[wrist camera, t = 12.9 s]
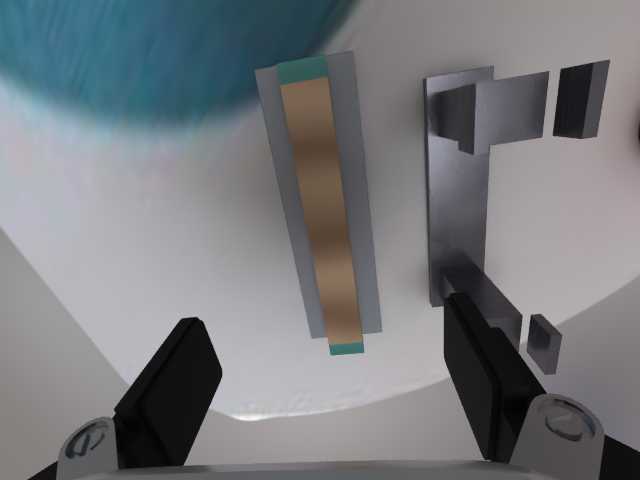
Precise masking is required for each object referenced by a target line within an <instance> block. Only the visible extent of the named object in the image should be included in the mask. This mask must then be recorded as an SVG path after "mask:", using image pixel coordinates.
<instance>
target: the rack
mask: <svg viewBox="0 0 640 480" xmlns="http://www.w3.org/2000/svg"><path fill="white" fill-rule="evenodd" d="M609 63H610V60H605V61H600V62H594V63H589V64H584V65H579V66H574V67H568V68H563V69H561V72H560V80H559V88H558V96H557V104H556V113H555V121H554V129H553V136H559V137H568V138H578V139H585V138H592V137H597V132H598V126H599V121H600V115H601V109H602V103H603V98H604V92H605V86H606V80H607V75H608V69H609ZM493 72H494V66H491V67H485V68H480V69H474V70H469V71H463V72H458V73H452V74H447V75H441V76H436V77H430V78H426V79H424V104H425V139H426V174H427V209H428V244H429V279H430V303H431V305H432V307H439V306H444V298H446V297H449V294H450V293H456V292H467V293H468V294H469V295H470V297H471V298H472V300H473V301H474V303H475V305H476V306H477V308H478V309H479V311H480V312H481V314H482V315H483V317H484V318H485V320H486V321H487V323H488V324H489V326H490V327H499V328H501V329H502V331H503V332H504V333H505V334H506V336H507V337H508V339H509V340H510V342H511V343H512V344H513V346H514V347H515V349H516V350H517V352H519V344H520V335H521V326H522V317H523V316H522V314H521V313H520V312H519V311H518V310H517V309H516V308H515V307H514V306H513V305H512V303H511V302H510V301H509V300H508V299H507V298H506V297H505V296H504V295H503V294H502V292H501V291H500V290H499V289H498V288H497V287H496V286H495V285H494V284H493V283H492V281H491V280H490V279H489V278H488V277H487V276H486V275H485V274H484V259H485V238H486V217H487V196H488V176H489V155H490V145H496V144H503V143H509V142H516V141H522V140H529V139H535V138H542V134H543V125H544V116H545V106H546V97H547V88H548V79H549V71H547V72H541V73H535V74H530V75H524V76H518V77H513V78H507V79H501V80H496V81H493ZM561 339H562V334H561V333H560V332H558V331H557V330H556V328H555V327H554V326H553V325H552V324H551V323H550V322H549V321H548V320H546V319H545V318H544V317H543V316H542V315H541V314H535V315H531V318H530V326H529V335H528V343H527V353H528V354H529V355H530V356H531V358H532V359H533V360H534V361H535V363H536V364H537V365H538V366H539V368H540V369H541V370H542V372H543V373H544V374H545V375H548V374H556V368H557V362H558V356H559V351H560V345H561Z"/></svg>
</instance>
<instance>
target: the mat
mask: <svg viewBox="0 0 640 480" xmlns="http://www.w3.org/2000/svg"><path fill="white" fill-rule="evenodd" d="M325 59H326V64H327V71H328V79H329V86H330V94H331V101H332V109H333V116H334V124H335V132H336V139H337V147H338V154H339V162H340V169H341V177H342V184H343V192H344V199H345V207H346V214H347V222H348V230H349V237H350V245H351V252H352V260H353V267H354V275H355V282H356V290H357V297H358V305H359V312H360V320H361V328H362V334H368V333H379V332H382V326H381V317H380V307H379V297H378V288H377V278H376V268H375V259H374V249H373V240H372V230H371V220H370V211H369V201H368V191H367V182H366V172H365V163H364V153H363V143H362V134H361V124H360V114H359V105H358V95H357V86H356V76H355V66H354V57H353V51H349V52H344V53H339V54H334V55H329V56H325ZM254 71H255V76H256V81H257V85H258V90H259V95H260V99H261V104H262V109H263V113H264V118H265V123H266V127H267V132H268V137H269V141H270V146H271V151H272V155H273V160H274V165H275V169H276V174H277V179H278V183H279V188H280V193H281V197H282V202H283V207H284V211H285V216H286V221H287V225H288V230H289V235H290V239H291V244H292V249H293V253H294V258H295V263H296V267H297V272H298V277H299V281H300V286H301V291H302V295H303V300H304V305H305V309H306V314H307V319H308V323H309V328H310V333H311V337H312V339H313V338H324V337H327V332H326V327H325V321H324V316H323V311H322V305H321V300H320V295H319V289H318V284H317V279H316V273H315V268H314V263H313V257H312V252H311V247H310V241H309V236H308V231H307V225H306V220H305V215H304V209H303V204H302V199H301V193H300V188H299V183H298V177H297V172H296V167H295V161H294V156H293V151H292V145H291V140H290V135H289V129H288V124H287V119H286V113H285V108H284V103H283V97H282V92H281V87H280V81H279V76H278V71H277V66H273V67H268V68H262V69H257V70H254Z"/></svg>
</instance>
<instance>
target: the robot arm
mask: <svg viewBox="0 0 640 480" xmlns="http://www.w3.org/2000/svg"><path fill="white" fill-rule="evenodd" d="M444 358H445V362H446V365H447V368H448V370H449V373H450V375H451V378H452V380H453V383H454V385H455V388H456V391H457V393H458V396H459V398H460V400H461V403H462V406H463V408H464V411H465V413H466V416H467V418H468V421H469V423H470V426H471V428H472V431H473V433H474V436H475V438H476V441H477V443H478V446H479V448H480V451H481V453H482V455H483V458H484V459H485V460H491V461H478V460H371V461H327V462H292V463H291V462H290V463H257V464H256V463H255V464H224V465H195V466H183V465H184V463H185V461H186V459H187V457H188V454H189V452H190V449H191V447H192V445H193V443H194V440H195V438H196V436H197V434H198V431H199V429H200V427H201V424H202V422H203V420H204V418H205V415H206V413H207V411H208V408H209V406H210V404H211V402H212V399H213V397H214V395H215V392H216V390H217V388H218V385H219V383H220V381H221V378H222V368H221V365H220V363H219V360H218V358H217V355H216V353H215V350H214V348H213V345H212V342H211V340H210V337H209V335H208V332H207V330H206V327H205V325H204V323H203V321H202V320H199V318H197V317H191V318H183V319H181V320H180V321H179V322H178V324H177V325H176V326H175V328H174V329H173V330H172V332H171V333H170V334H169V336H168V337H167V338H166V340H165V341H164V342H163V344H162V345H161V347H160V348H159V349H158V351H157V352H156V353H155V355H154V356H153V357H152V359H151V360H150V361H149V363H148V364H147V365H146V367H145V368H144V369H143V371H142V372H141V373H140V375H139V376H138V378H137V379H136V380H135V382H134V383H133V384H132V386H131V387H130V388H129V390H128V391H127V392H126V394H125V395H124V396H123V398H122V399H121V400H120V402H119V403H118V404H117V406H116V407H115V408H114V410H115V412H116V414H115V415H114V417H113V418H110V417H100V418H96V419H94V420H91V421H89V422H87V423H86V424H84V425H83V426H81V427H80V428H78V429H77V430H76V431H75V432H74V433H73V434H72V435H71V436H70V437H69V438H68V439H67V440H66V441H65V443H64V444H63V446H62V448H61V450H60V453H59V457H58V461H56V462H55V463H53V464H51V465H50V466H48V467H47V468H45V469H44V470H42V471H41V472H39V473H37V474H36V475H34V476H33V477H31V478H29V479H28V480H640V452H638V451H637V450H634V449H632V448H631V447H629V446H627V445H625V444H623V443H621V442H619V441H617V440H615V439H613V438H611V437H609V436H607V435H605V434H604V429H603V427H602V424H601V423H600V421H599V419H598V418H597V417H596V416H595V415H594V414H593V413H592V412H591V411H590V410H589V409H588V408H586V407H585V406H584V405H582V404H581V403H579V402H577V401H575V400H573V399H571V398H569V397H566V396H562V395H558V394H547V393H546V391H545V390H544V389H543V387H542V386H541V384H540V383H539V381H538V380H537V379H536V377H535V376H534V374H533V373H532V372H531V370H530V369H529V367H528V366H527V365H526V363H525V362H524V360H523V359H522V357H521V356H520V354H519V353H518V352H517V350H516V349H515V347H514V346H513V344H512V343H511V342H510V340H509V339H508V337H507V336H506V334H505V333H504V332H503V331H502V329H501V328H499V327H490V326H489V324H488V323H487V321H486V320H485V318H484V317H483V315H482V314H481V312H480V311H479V309H478V308H477V306H476V305H475V303H474V301H473V300H472V298H471V297H470V295H469V294H468V293H467V292H456V293H450V294H449V297H446V298H444Z"/></svg>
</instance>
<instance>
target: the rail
mask: <svg viewBox="0 0 640 480" xmlns="http://www.w3.org/2000/svg"><path fill="white" fill-rule="evenodd" d="M276 65H277V71H278V76H279V81H280V87H281V92H282V97H283V103H284V108H285V113H286V119H287V124H288V129H289V135H290V140H291V145H292V151H293V156H294V161H295V167H296V172H297V177H298V183H299V188H300V193H301V199H302V204H303V209H304V215H305V220H306V225H307V231H308V236H309V241H310V247H311V252H312V257H313V263H314V268H315V273H316V279H317V284H318V289H319V295H320V300H321V305H322V311H323V316H324V321H325V327H326V332H327V337H328V343H329V348H330V353H331V355H343V354H354V353H364V345H363V336H362V328H361V320H360V312H359V305H358V297H357V290H356V282H355V275H354V267H353V260H352V252H351V245H350V237H349V230H348V222H347V214H346V207H345V199H344V192H343V184H342V177H341V169H340V162H339V154H338V147H337V139H336V132H335V124H334V116H333V109H332V101H331V94H330V86H329V79H328V71H327V64H326V59H325V54H324V55H319V56H313V57H308V58H303V59H298V60H293V61H288V62H283V63H278V64H276Z"/></svg>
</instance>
